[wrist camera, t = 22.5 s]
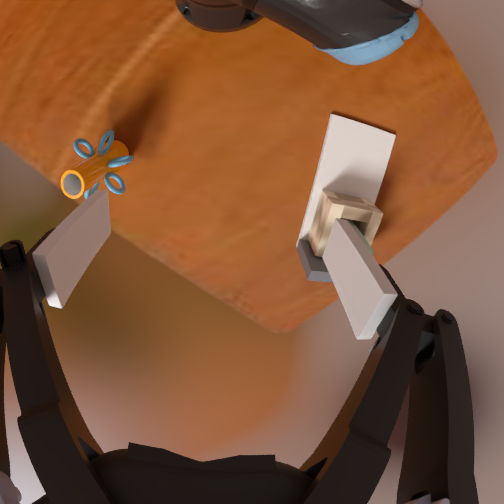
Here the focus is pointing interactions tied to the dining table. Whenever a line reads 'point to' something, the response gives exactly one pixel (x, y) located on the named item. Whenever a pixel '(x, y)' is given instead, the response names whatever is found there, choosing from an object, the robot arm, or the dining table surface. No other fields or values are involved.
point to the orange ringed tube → (96, 167)
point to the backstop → (344, 177)
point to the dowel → (360, 235)
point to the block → (342, 207)
